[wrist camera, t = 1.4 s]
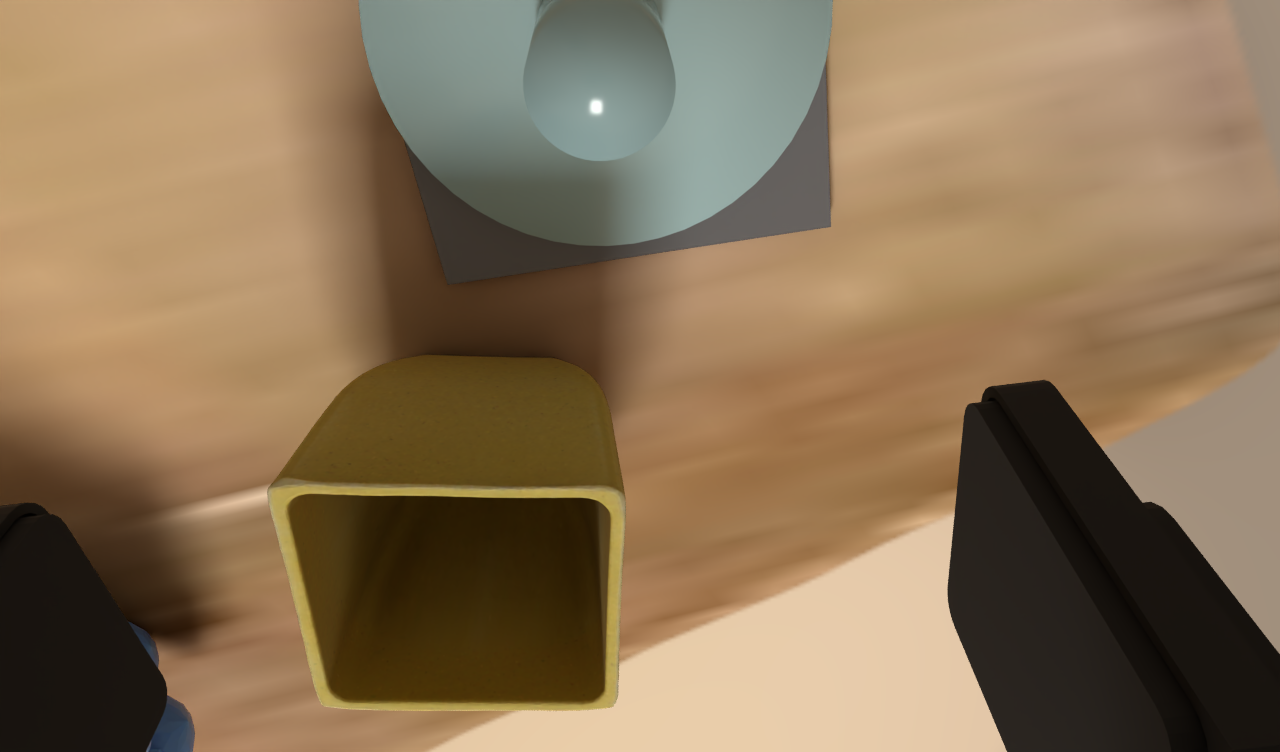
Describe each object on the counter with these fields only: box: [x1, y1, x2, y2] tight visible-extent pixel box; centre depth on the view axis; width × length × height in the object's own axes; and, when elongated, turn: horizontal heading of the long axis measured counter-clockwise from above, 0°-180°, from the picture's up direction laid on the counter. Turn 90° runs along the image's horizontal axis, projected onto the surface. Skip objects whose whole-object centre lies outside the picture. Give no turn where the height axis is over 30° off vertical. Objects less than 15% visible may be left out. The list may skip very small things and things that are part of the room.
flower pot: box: [267, 355, 626, 711], centre depth 28 cm, size 9×9×9 cm
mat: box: [404, 62, 831, 285], centre depth 24 cm, size 14×12×1 cm
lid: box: [359, 0, 833, 246], centre depth 22 cm, size 12×12×6 cm
